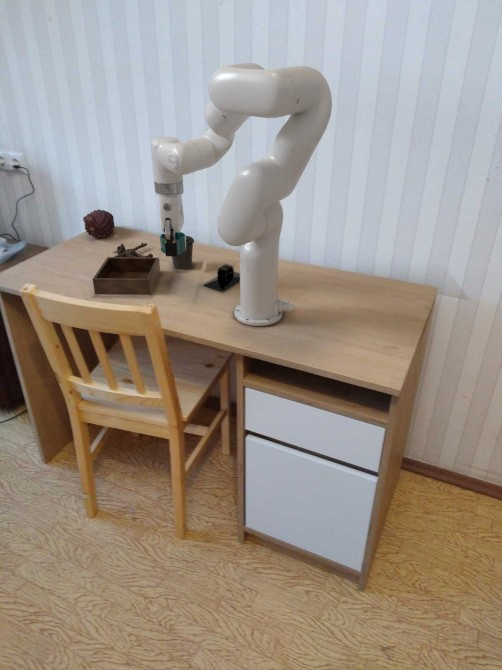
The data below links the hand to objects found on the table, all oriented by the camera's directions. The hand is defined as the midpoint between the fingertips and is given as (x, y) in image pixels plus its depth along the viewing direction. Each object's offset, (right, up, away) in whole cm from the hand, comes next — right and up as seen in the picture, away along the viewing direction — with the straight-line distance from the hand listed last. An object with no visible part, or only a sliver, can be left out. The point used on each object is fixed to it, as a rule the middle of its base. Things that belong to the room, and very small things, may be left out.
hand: (173, 250), depth 149 cm
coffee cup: (+1, -3, +16) cm, 16 cm away
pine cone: (-31, +12, +41) cm, 53 cm away
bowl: (0, -1, 0) cm, 1 cm away
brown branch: (-16, +1, +22) cm, 28 cm away
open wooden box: (-14, -9, +6) cm, 18 cm away
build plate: (+14, -8, +8) cm, 18 cm away
